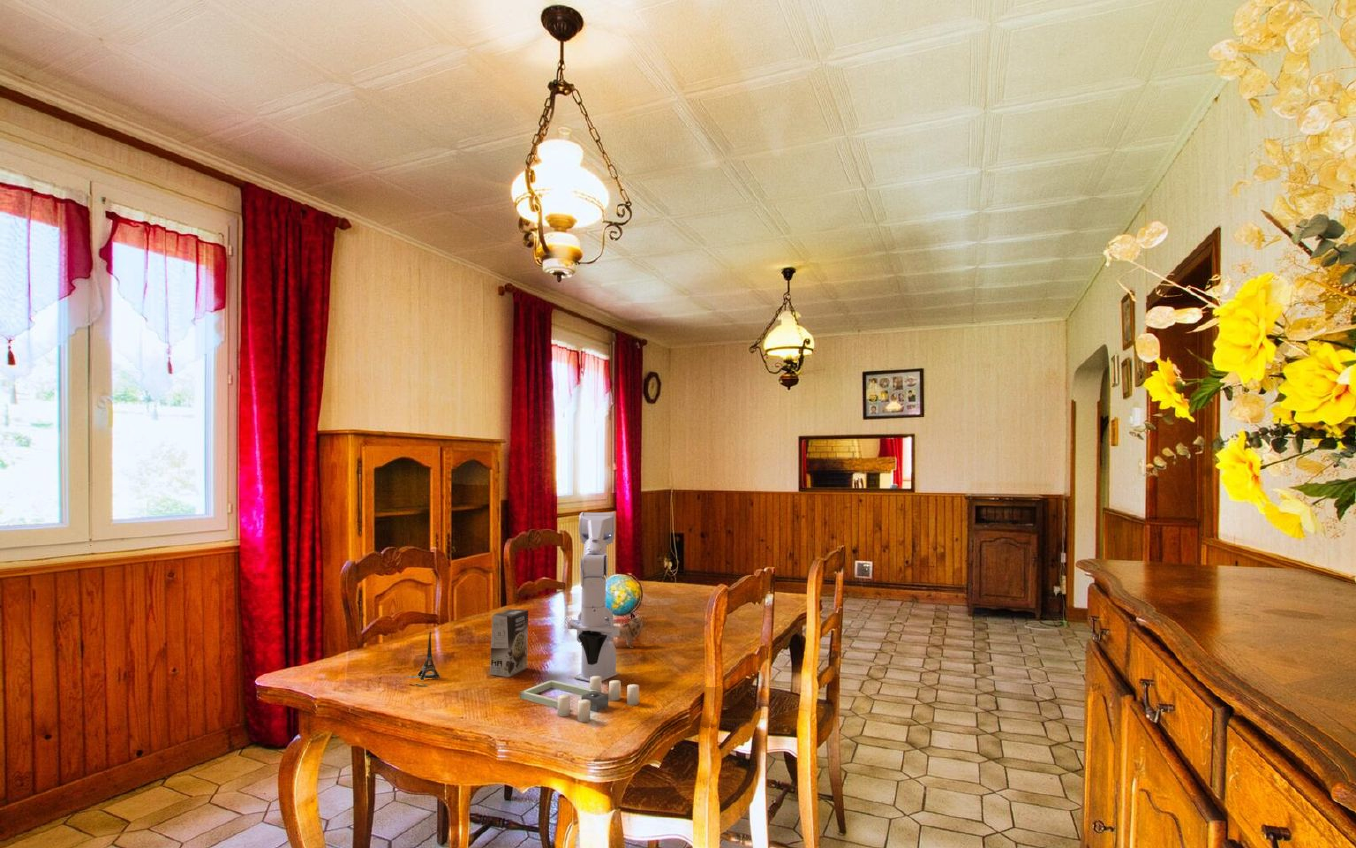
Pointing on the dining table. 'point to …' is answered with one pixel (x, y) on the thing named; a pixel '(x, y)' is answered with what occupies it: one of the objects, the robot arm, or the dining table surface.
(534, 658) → the dining table surface
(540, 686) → the frame
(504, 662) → the coffee box
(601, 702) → the push button box
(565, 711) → the posts
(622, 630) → the lion figurine
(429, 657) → the eiffel tower figurine
